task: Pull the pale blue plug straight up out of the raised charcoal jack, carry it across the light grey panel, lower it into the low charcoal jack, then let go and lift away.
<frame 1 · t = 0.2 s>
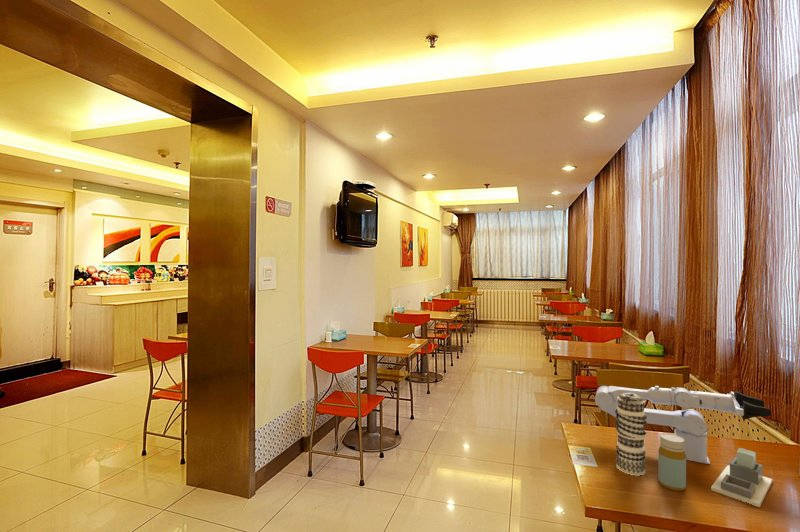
hand: (767, 408, 130), 21 cm above the table, tool horizontal, fingers open, 7 cm apart
decorative candle: (630, 469, 132), on the table
jack panel: (742, 486, 122), on the table
plug: (746, 470, 125), point 3 cm above the table, touching jack panel
bottle: (671, 486, 122), on the table
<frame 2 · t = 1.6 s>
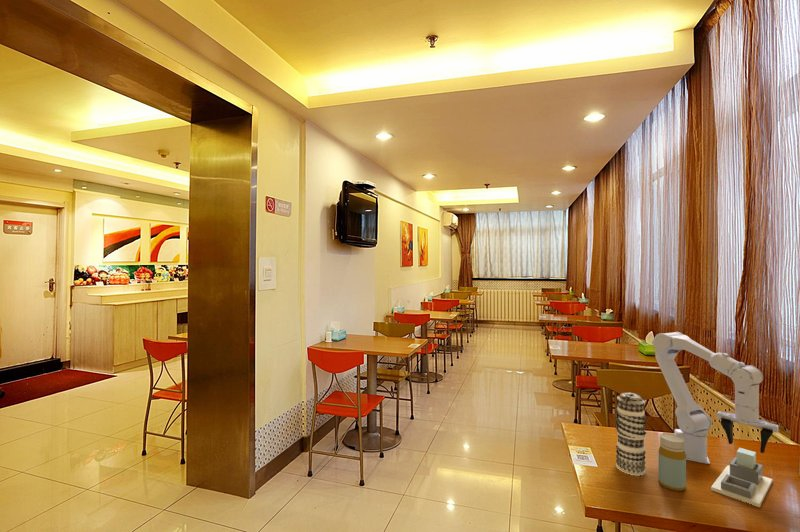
hand: (746, 447, 125), 10 cm above the table, tool pointing down, fingers open, 7 cm apart
plug: (746, 470, 125), point 3 cm above the table
everything else where it was.
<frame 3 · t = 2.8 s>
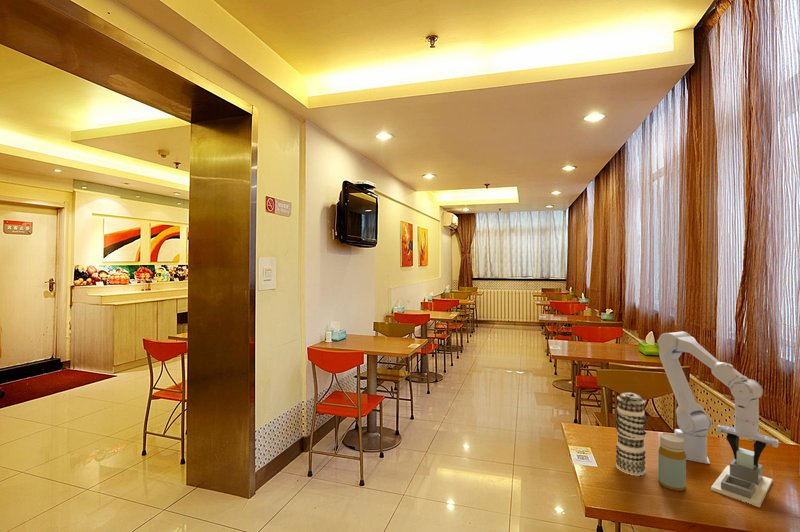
hand: (746, 461, 125), 6 cm above the table, tool pointing down, fingers closed on plug, 4 cm apart
plug: (746, 470, 125), point 3 cm above the table, touching gripper, jack panel
everything else where it was.
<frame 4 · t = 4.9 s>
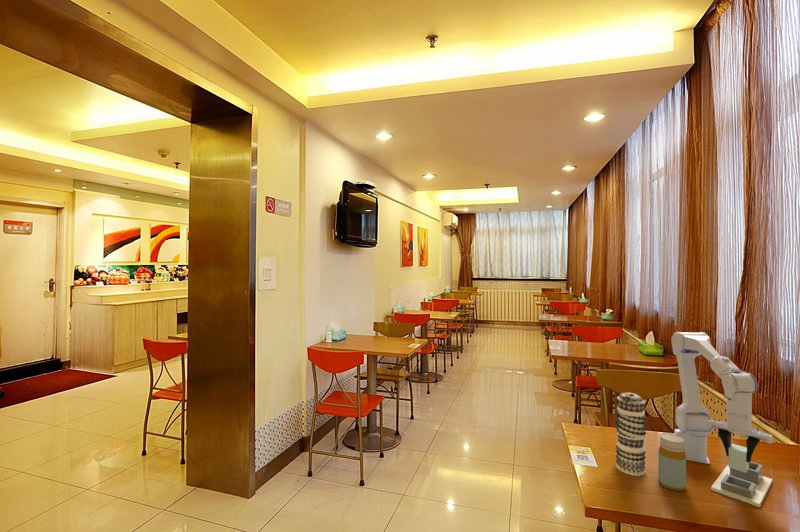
hand: (738, 458, 118), 10 cm above the table, tool pointing down, fingers closed on plug, 4 cm apart
plug: (738, 467, 118), point 7 cm above the table, touching gripper
everything else where it was.
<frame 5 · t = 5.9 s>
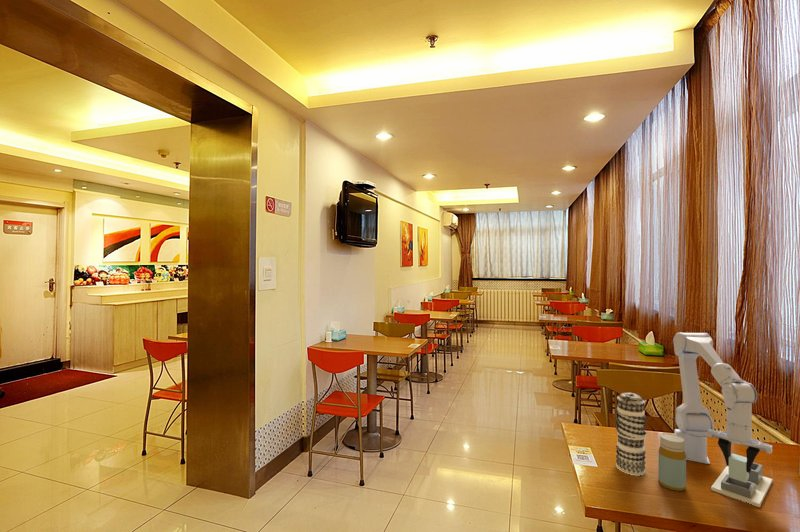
hand: (738, 468, 118), 7 cm above the table, tool pointing down, fingers closed on plug, 4 cm apart
plug: (738, 477, 118), point 4 cm above the table, touching gripper
everything else where it was.
when the fingers open (4 cm above the table, at t = 7.0 s): plug stays where it is, resting on jack panel.
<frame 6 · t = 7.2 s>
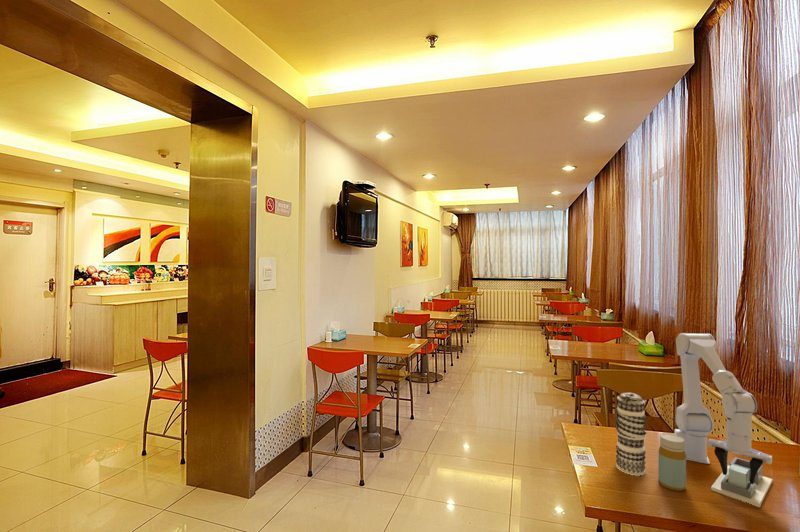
hand: (738, 478, 118), 4 cm above the table, tool pointing down, fingers open, 6 cm apart
plug: (738, 488, 119), point 1 cm above the table, touching jack panel
everything else where it was.
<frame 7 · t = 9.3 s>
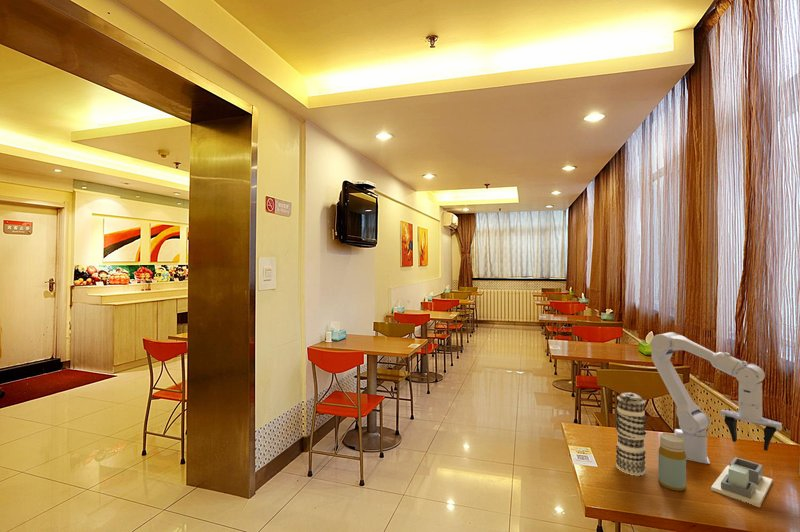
hand: (750, 445, 127), 10 cm above the table, tool pointing down, fingers open, 7 cm apart
nothing on the table moved.
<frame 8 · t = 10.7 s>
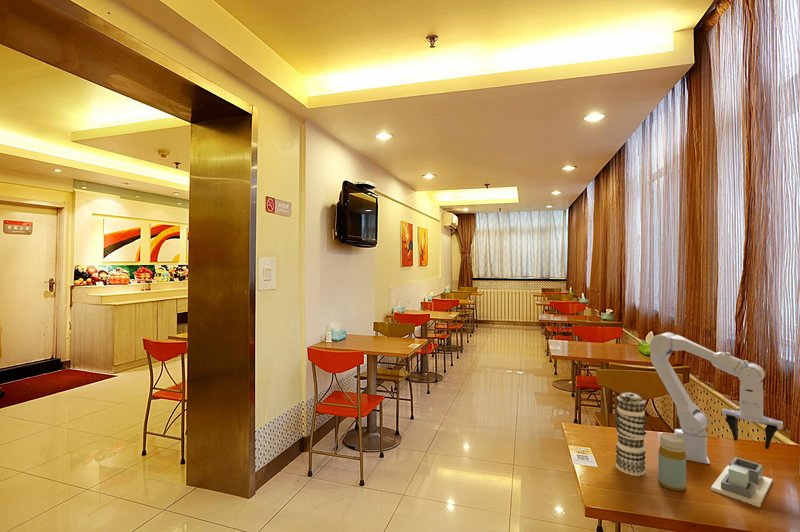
hand: (751, 443, 127), 10 cm above the table, tool pointing down, fingers open, 7 cm apart
nothing on the table moved.
at the end: plug 0.3 cm from the target spot, point 1.0 cm above the table; plug tilted 0°; the gripper is holding nothing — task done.
